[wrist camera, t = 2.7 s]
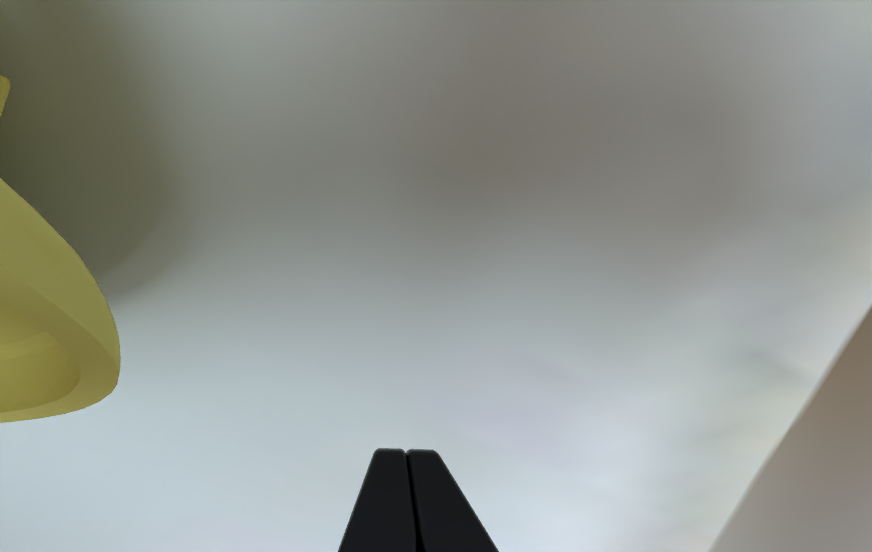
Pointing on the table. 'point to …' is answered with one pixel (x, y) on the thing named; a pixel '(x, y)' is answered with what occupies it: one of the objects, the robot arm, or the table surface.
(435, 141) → the table surface
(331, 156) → the table surface
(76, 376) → the yellow long curved piece
